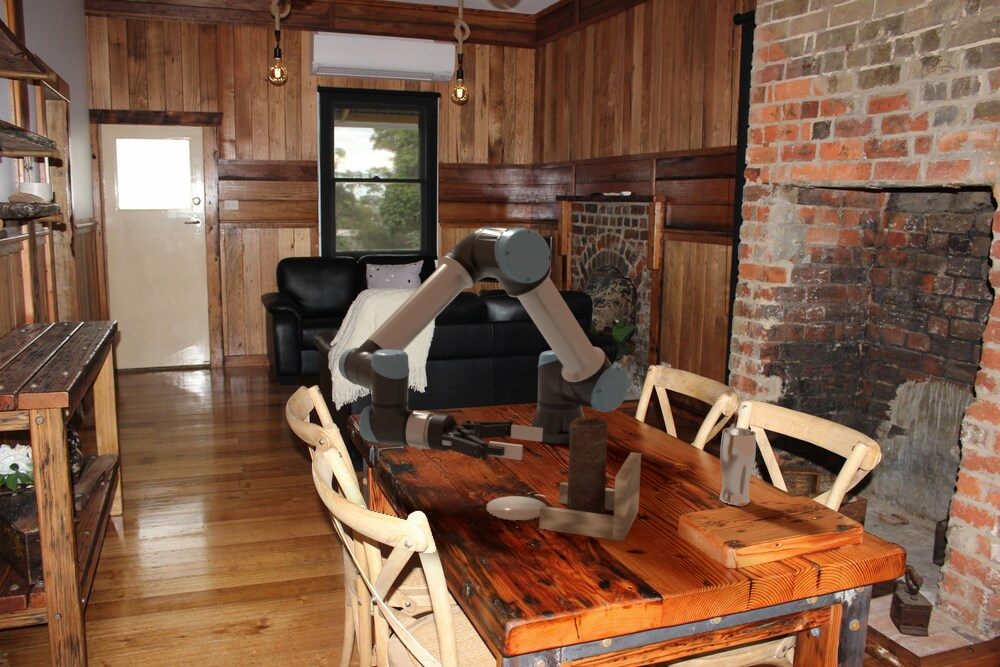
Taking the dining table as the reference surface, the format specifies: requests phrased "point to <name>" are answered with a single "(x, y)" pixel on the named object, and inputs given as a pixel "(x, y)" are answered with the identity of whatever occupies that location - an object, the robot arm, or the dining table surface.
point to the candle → (587, 465)
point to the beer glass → (737, 464)
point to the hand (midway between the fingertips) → (532, 443)
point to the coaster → (515, 508)
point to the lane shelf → (617, 499)
